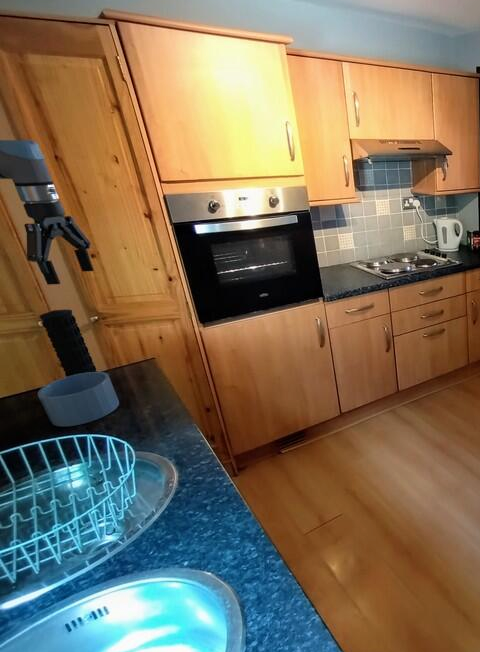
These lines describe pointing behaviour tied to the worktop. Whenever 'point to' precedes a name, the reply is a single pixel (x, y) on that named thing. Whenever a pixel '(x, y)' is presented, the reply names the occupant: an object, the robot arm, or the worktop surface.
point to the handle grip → (68, 342)
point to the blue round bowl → (78, 398)
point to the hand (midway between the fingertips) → (72, 277)
